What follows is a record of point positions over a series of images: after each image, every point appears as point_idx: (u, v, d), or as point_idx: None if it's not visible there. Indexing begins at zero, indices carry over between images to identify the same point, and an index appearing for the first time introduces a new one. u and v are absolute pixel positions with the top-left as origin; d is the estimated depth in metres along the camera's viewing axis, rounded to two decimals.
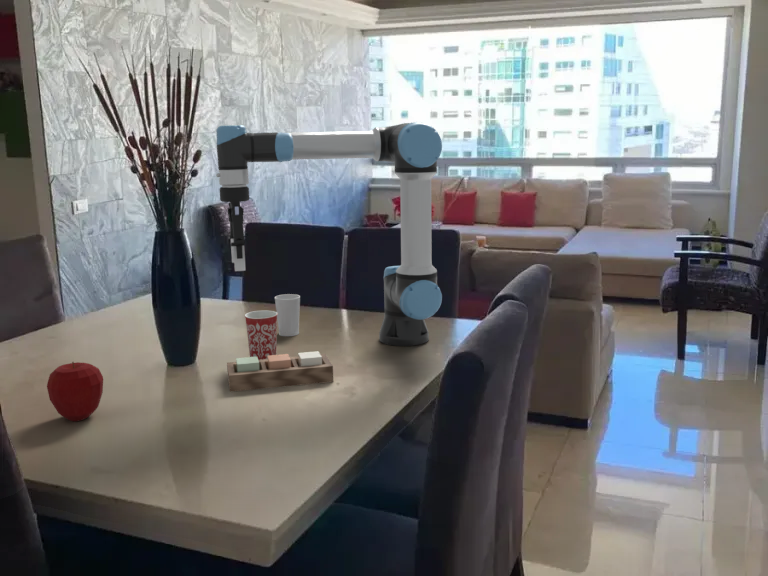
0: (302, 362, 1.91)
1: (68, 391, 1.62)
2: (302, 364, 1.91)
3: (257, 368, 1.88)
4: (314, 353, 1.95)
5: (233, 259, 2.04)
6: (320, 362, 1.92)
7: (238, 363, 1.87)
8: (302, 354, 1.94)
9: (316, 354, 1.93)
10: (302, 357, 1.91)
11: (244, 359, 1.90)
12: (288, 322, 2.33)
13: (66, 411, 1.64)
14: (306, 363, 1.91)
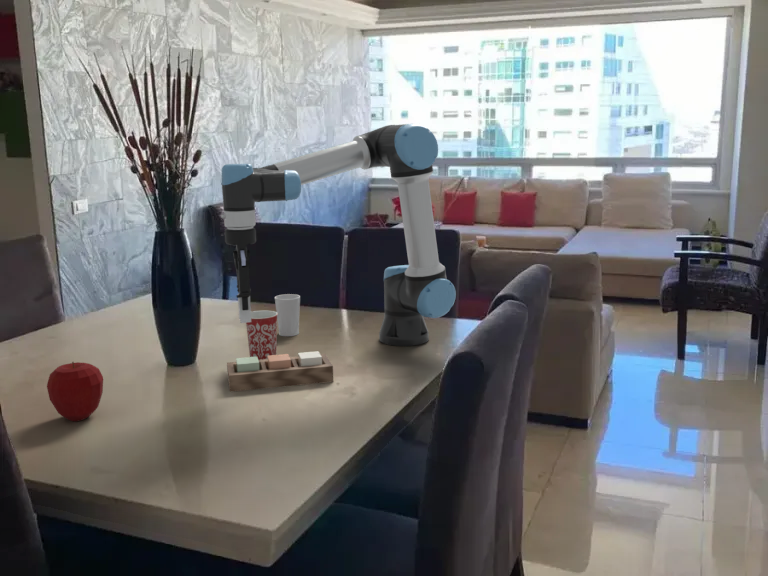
0: (302, 362, 1.91)
1: (68, 391, 1.62)
2: (302, 364, 1.91)
3: (257, 368, 1.88)
4: (314, 353, 1.95)
5: None
6: (320, 362, 1.92)
7: (238, 363, 1.87)
8: (302, 354, 1.94)
9: (316, 354, 1.93)
10: (302, 357, 1.91)
11: (244, 359, 1.90)
12: (288, 322, 2.33)
13: (66, 411, 1.64)
14: (306, 363, 1.91)
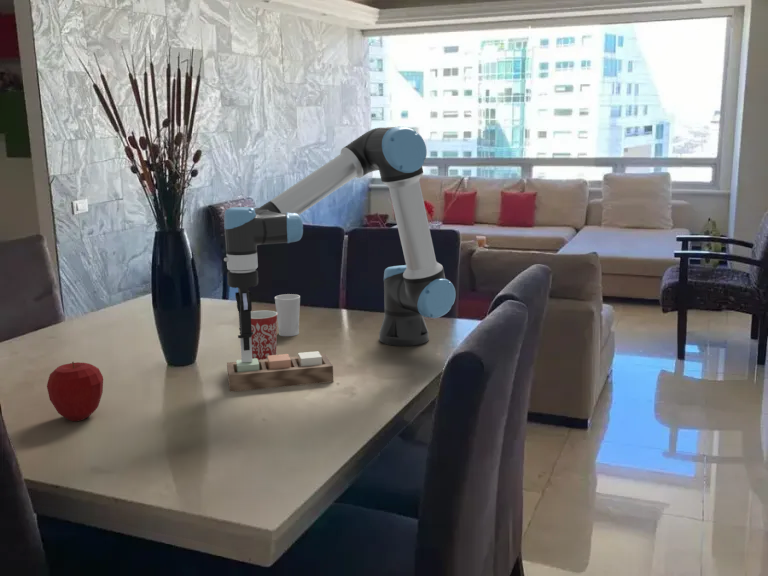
0: (302, 362, 1.91)
1: (68, 391, 1.62)
2: (302, 364, 1.91)
3: None
4: (314, 353, 1.95)
5: None
6: (320, 362, 1.92)
7: (238, 365, 1.87)
8: (302, 354, 1.94)
9: (316, 354, 1.93)
10: (302, 357, 1.91)
11: None
12: (288, 322, 2.33)
13: (66, 411, 1.64)
14: (306, 363, 1.91)
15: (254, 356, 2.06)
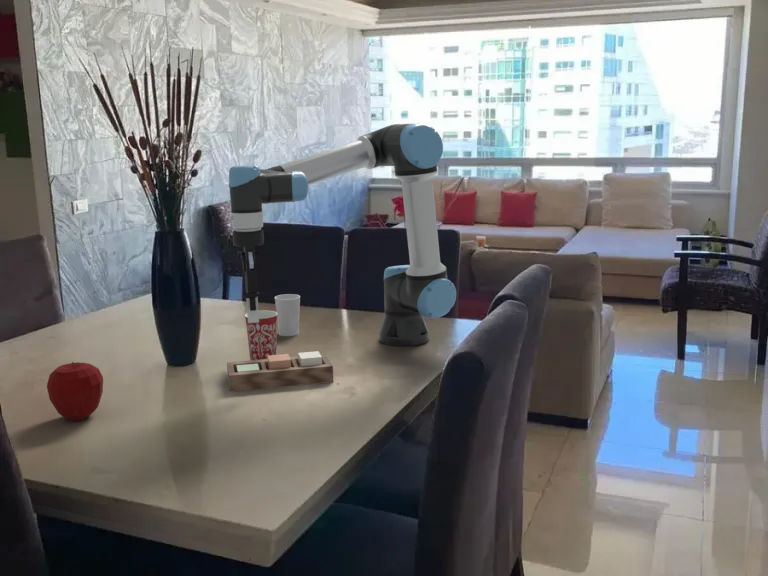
0: (302, 362, 1.91)
1: (68, 391, 1.62)
2: (302, 364, 1.91)
3: None
4: (314, 353, 1.95)
5: None
6: (320, 362, 1.92)
7: (238, 370, 1.88)
8: (302, 354, 1.94)
9: (316, 354, 1.93)
10: (302, 357, 1.91)
11: (244, 366, 1.91)
12: (288, 322, 2.33)
13: (66, 411, 1.64)
14: (306, 363, 1.91)
15: (254, 356, 2.06)
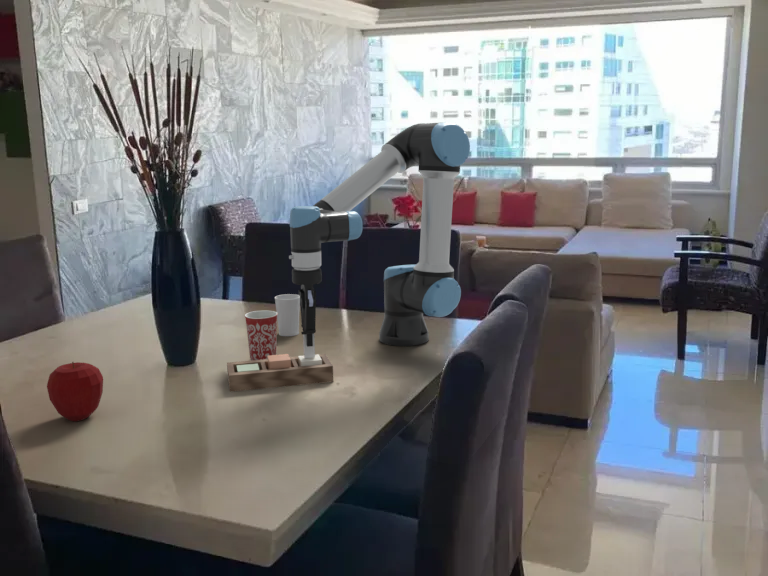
0: (302, 365, 1.91)
1: (68, 391, 1.62)
2: None
3: None
4: None
5: None
6: None
7: (238, 370, 1.88)
8: (302, 357, 1.94)
9: (316, 357, 1.94)
10: (302, 360, 1.91)
11: (244, 366, 1.91)
12: (288, 322, 2.33)
13: (66, 411, 1.64)
14: None
15: (254, 356, 2.06)
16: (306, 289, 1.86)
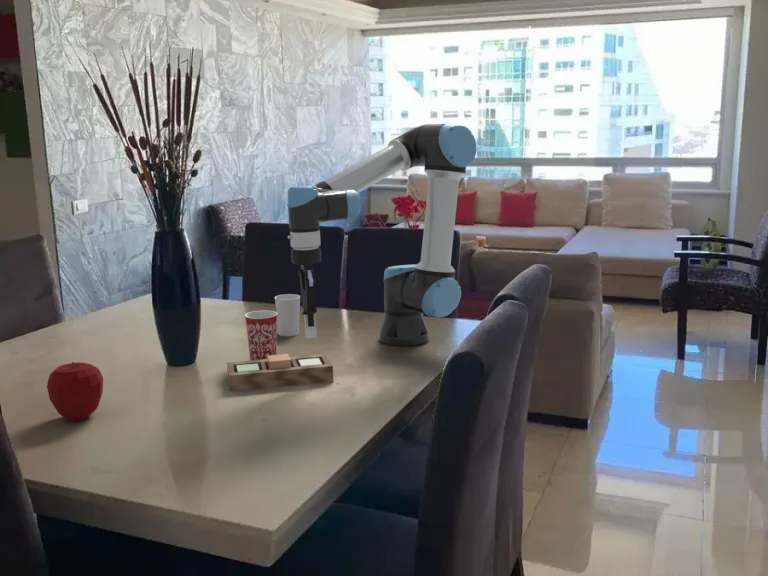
0: None
1: (68, 391, 1.62)
2: None
3: None
4: (314, 360, 1.95)
5: None
6: None
7: (238, 370, 1.88)
8: (302, 361, 1.94)
9: (316, 362, 1.94)
10: (302, 364, 1.91)
11: (244, 366, 1.91)
12: (288, 322, 2.33)
13: (66, 411, 1.64)
14: None
15: (254, 356, 2.06)
16: (306, 269, 1.85)
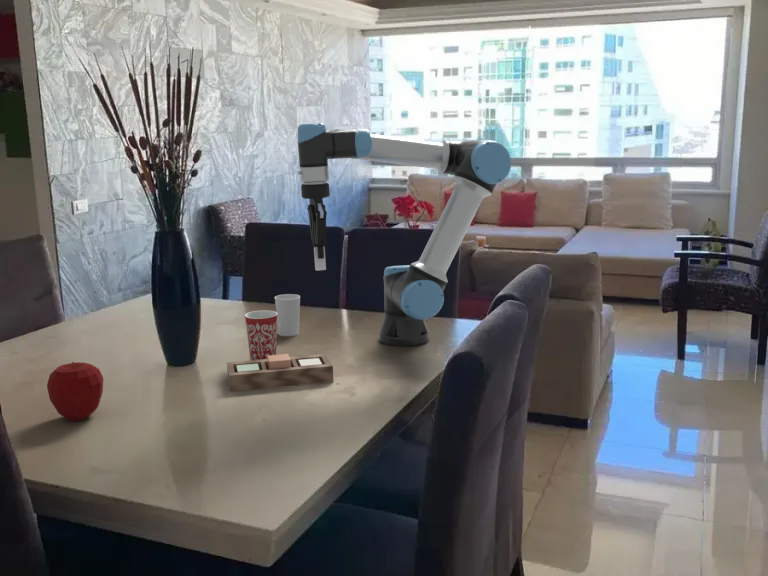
0: None
1: (68, 391, 1.62)
2: None
3: None
4: (314, 360, 1.95)
5: None
6: None
7: (238, 370, 1.88)
8: (302, 361, 1.94)
9: (316, 362, 1.94)
10: (302, 364, 1.91)
11: (244, 366, 1.91)
12: (288, 322, 2.33)
13: (66, 411, 1.64)
14: None
15: (254, 356, 2.06)
16: (316, 202, 1.96)
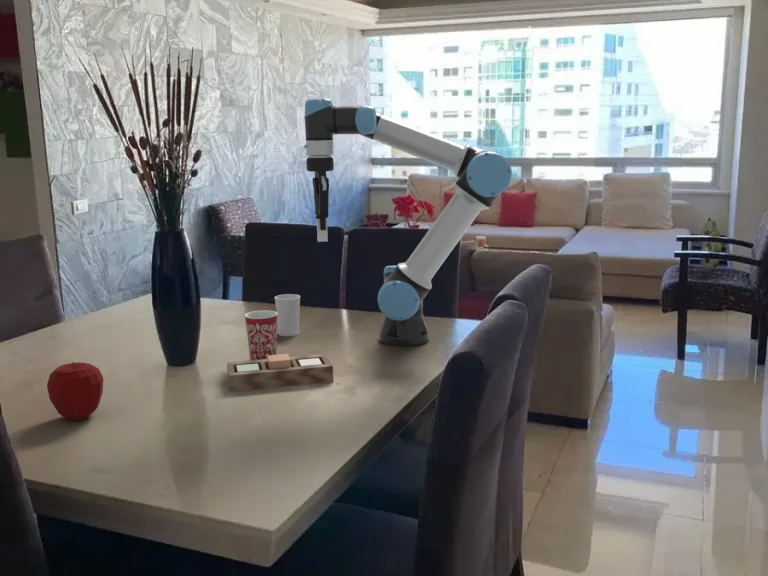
0: None
1: (68, 391, 1.62)
2: None
3: None
4: (314, 360, 1.95)
5: None
6: None
7: (238, 370, 1.88)
8: (302, 361, 1.94)
9: (316, 362, 1.94)
10: (302, 364, 1.91)
11: (244, 366, 1.91)
12: (288, 322, 2.33)
13: (66, 411, 1.64)
14: None
15: (254, 356, 2.06)
16: (320, 175, 2.03)
